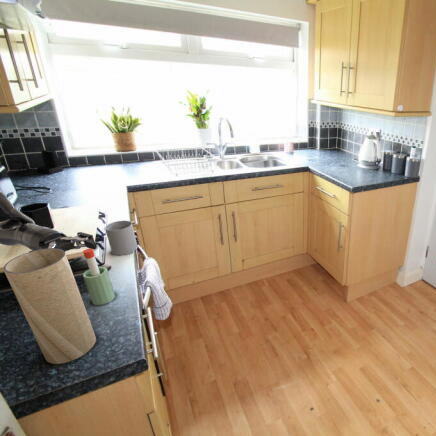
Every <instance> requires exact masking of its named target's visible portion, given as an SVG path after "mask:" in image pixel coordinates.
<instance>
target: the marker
mask: <svg viewBox="0 0 436 436" xmlns="http://www.w3.org/2000/svg"><path fill="white" fill-rule="evenodd" d="M94 251H95V250H93V249H90V248H86V249H84V250H83V251H82V253H83V256H84V259H85V260H86V263H87V267H88V270H90V273H91V276H92V277H93V276H97V275H100V272H99V269H98V267H99V265H98V262H97V259H96V255H95V252H94Z"/></svg>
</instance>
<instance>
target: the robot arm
mask: <svg viewBox="0 0 436 436" xmlns="http://www.w3.org/2000/svg"><path fill="white" fill-rule="evenodd" d="M82 242H83V243H82ZM0 245H3V246H7V247H8V246H9V247H25V248H27V249H29V251H28V252H31V251H35V250H40V249H48V248H58V249H62V250H63V251H65V253H66V252H68V251H71V250H80V249H81V248H86V249H93V251H95V250H97V249H98V248H97V247H98V246H97V242H96V241H95V239H94V235H93V234H90V233H86V232H82V231H79V232H76V235H75V236H67V234H65V233H63V232H62V231H60V230H59V231H58V230H56V229H54V228H50V227H46V226H41V225H39V224H36V222H35V220H33V218H31V217H29V216H28V215H26V214H24V213H23V212H22V211H20V210H19V209H18V208H17V207H15V206H14V204H13V203H12V202H11V200H10V199H9V197H8V196H7V194H5V193H4V191H2V189H0Z"/></svg>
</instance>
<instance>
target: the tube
mask: <svg viewBox="0 0 436 436" xmlns="http://www.w3.org/2000/svg"><path fill="white" fill-rule="evenodd" d="M30 251H31V252H29V251H28V252H25V253H23V254H20V255H18V256H15V257H14V258H12V259H10V260H8V261H7V262H6V263H4V265H3V272H4V274H5V277H6V278H7V281H8V283H9V284H10V287H11V289H12V292H13V294H14V295H15V297H16V300H17V302H18V304H19V306H20V309H21V310H22V313H23V315H24V317H25V319H26V321H27V323H28V324H29V327H30V329H31V331H32V333H33V336H34V338H35V340H36V342H37V344H38V346H39V348H40V351H41V353H42V355H43V357H44V359H45V361H46V362H47V363H49V364H52V365H61V364H66V363H70V362H72V361H75V360H77V359H79V358H81V357H82V356H84V355H86V354H87V353H88V352H89V351H91V349H92V348H94V345H95V344H96V342H97V337H96V334H95V331H94V328H93V325H92V323H91V320H90V317H89V314H88V312H87V309H86V306H85V304H84V300H83V298H82V295H81V292H80V289H79V287H78V284H77V281H76V279H75V276H74V274H73V270H72V268H71V267H72V266H71V265H70V262H69V260H68V257H67V254H66V252H65V251H63V250H62V249H58V248H48V249H40V250H35V251H32V250H30Z"/></svg>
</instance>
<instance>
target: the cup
mask: <svg viewBox="0 0 436 436" xmlns="http://www.w3.org/2000/svg"><path fill="white" fill-rule="evenodd" d="M104 230H105V233H106V238H107V240H108V244H109V248H110V250H111V254H112V255H115V256H125V255H128V254H131V253H134V252H135V251H136V250H138V248H139V247H138V242H137V239H136V234H135V230H134V226H133V222H132V221H130V220H117V221H113V222H111V223H108V224H107V225H105V226H104Z"/></svg>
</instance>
